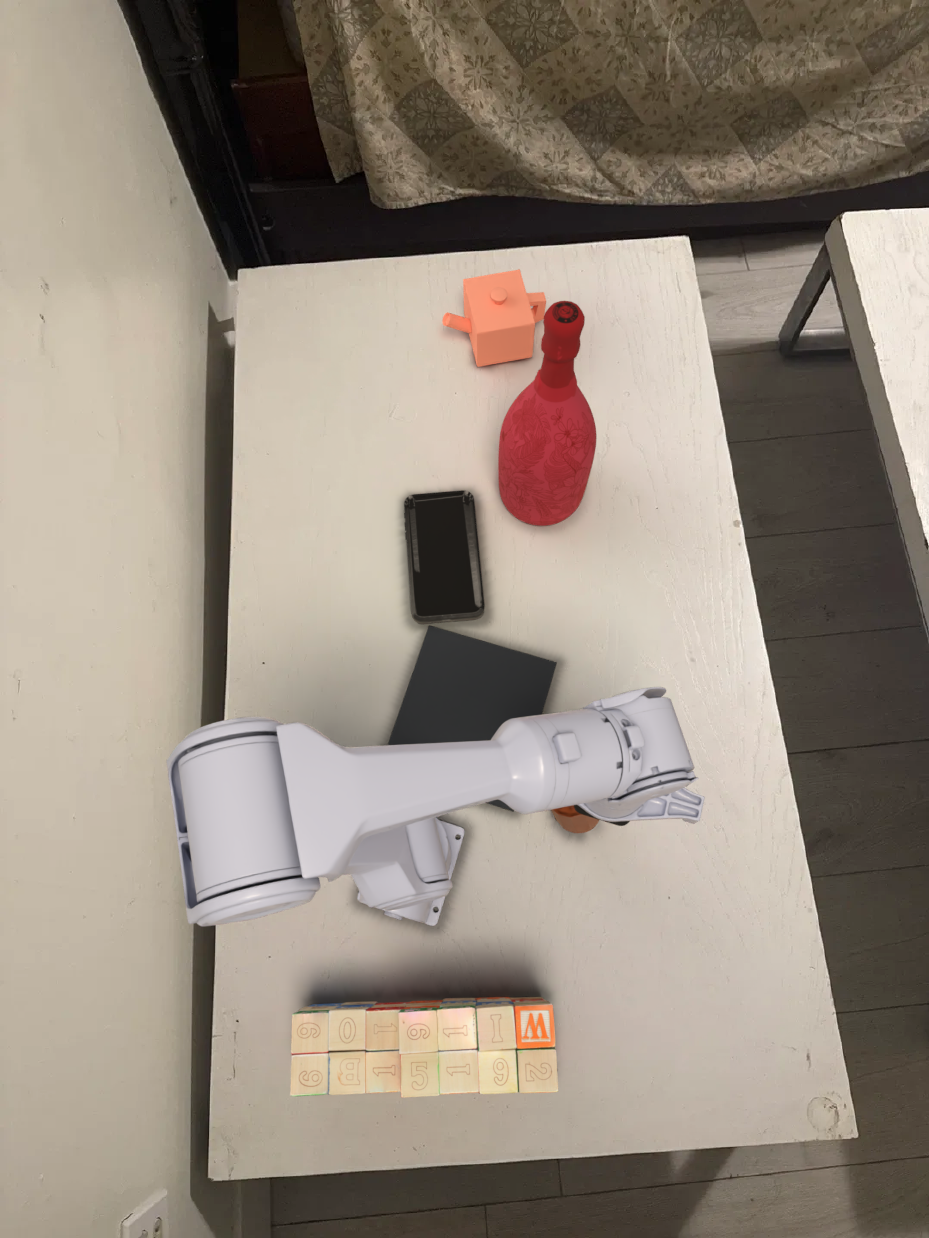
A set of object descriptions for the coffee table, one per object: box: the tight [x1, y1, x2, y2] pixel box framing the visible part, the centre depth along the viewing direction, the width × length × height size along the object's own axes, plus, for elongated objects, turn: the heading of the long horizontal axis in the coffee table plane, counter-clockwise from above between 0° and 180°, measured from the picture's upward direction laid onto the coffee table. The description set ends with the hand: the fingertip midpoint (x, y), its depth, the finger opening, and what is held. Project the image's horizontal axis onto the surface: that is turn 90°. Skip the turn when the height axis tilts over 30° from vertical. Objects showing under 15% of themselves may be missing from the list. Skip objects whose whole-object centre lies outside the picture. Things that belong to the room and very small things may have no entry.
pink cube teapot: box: [441, 268, 547, 368], centre depth 101 cm, size 8×12×8 cm, turn 101°
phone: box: [403, 489, 485, 625], centre depth 95 cm, size 8×1×15 cm
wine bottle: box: [497, 300, 597, 527], centre depth 84 cm, size 10×10×30 cm
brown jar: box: [550, 805, 600, 834], centre depth 81 cm, size 5×5×11 cm
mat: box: [387, 624, 557, 812], centre depth 89 cm, size 16×14×1 cm
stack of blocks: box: [289, 996, 559, 1099], centre depth 73 cm, size 21×6×12 cm, turn 92°
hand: (598, 798), depth 78 cm, fingers closed, pressing on brown jar
